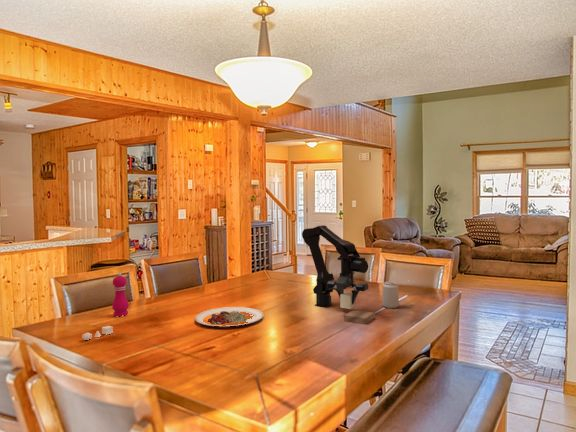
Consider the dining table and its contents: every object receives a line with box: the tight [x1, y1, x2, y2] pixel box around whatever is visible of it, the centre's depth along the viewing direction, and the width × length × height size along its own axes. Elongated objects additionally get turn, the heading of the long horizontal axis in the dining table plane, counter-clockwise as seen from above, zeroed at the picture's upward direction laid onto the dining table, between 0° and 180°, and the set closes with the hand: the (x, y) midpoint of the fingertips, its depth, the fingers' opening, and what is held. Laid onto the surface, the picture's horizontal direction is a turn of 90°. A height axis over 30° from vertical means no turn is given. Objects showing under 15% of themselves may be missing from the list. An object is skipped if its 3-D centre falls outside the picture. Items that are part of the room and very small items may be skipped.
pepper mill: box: [111, 272, 130, 317], centre depth 209 cm, size 7×7×20 cm
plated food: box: [194, 306, 264, 328], centre depth 201 cm, size 30×30×3 cm
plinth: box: [343, 309, 375, 325], centre depth 196 cm, size 10×10×3 cm
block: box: [339, 292, 356, 310], centre depth 210 cm, size 5×5×6 cm
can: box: [382, 280, 400, 309], centre depth 216 cm, size 8×8×12 cm
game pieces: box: [81, 325, 114, 341], centre depth 178 cm, size 12×3×3 cm, turn 145°
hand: (347, 303), depth 210 cm, fingers closed on block, 5 cm apart
